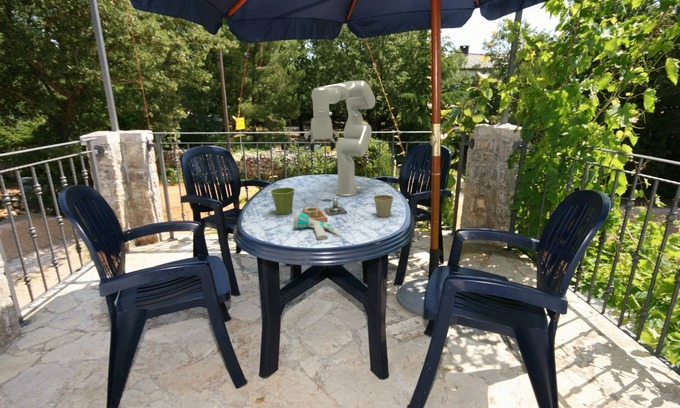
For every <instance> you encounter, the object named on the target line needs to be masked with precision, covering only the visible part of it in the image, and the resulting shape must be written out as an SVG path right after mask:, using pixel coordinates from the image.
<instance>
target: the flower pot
mask: <svg viewBox="0 0 680 408" xmlns="http://www.w3.org/2000/svg"><path fill="white" fill-rule="evenodd" d="M394 199H395V197H394V196H393V195H388V194H377V195H375V196H373V201H374V203H375V211H376V216H377V217H381V218H387V217H390V216H391V212H392V204H393V200H394Z"/></svg>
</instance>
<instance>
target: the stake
mask: <svg viewBox="0 0 680 408" xmlns="http://www.w3.org/2000/svg"><path fill="white" fill-rule="evenodd" d="M338 201H339V199H338V198H332V206H330V207H326V208H325V207H324V209H323V210H324V212H325V213H326V214H327V215H328V216H335V215H337V216H338V215H347V214H348V211H347V210H346V209H345V208H344V206H339V202H338Z"/></svg>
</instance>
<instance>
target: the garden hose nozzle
mask: <svg viewBox="0 0 680 408" xmlns="http://www.w3.org/2000/svg"><path fill="white" fill-rule="evenodd" d="M301 212H302V211H297V212H296V213H295V215H294V216H293V221H292V223H293V225H292V226H293V228H294V229H296V230H298V229H306V228H308V227H313V229H314V231H315V235H316V239H318V240H319V241H321V240H328V239H329V236H328V234H327V232H326V231H325V230H327V231H329V232H330V233H331V234H333V235H335V236H336V237H339V238H340V237H342V234H341V233H340V231H337V230H335V229H334V225H332V224H330V223H328V221H327V222H320V221H316V220H313V219H311V218H309V216H308V215H306V214H304V213H301Z"/></svg>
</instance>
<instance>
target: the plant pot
mask: <svg viewBox="0 0 680 408" xmlns="http://www.w3.org/2000/svg"><path fill="white" fill-rule="evenodd" d="M295 191H296V189H295V188H294V187H276V188H274V189H271V190H270V193H271V197H272V198H273V202H274V207H275V210H276V214H278V215H283V216H285V215H290V214H291V213H292V212H293V204H294V203H293V202H294V195H295Z"/></svg>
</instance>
